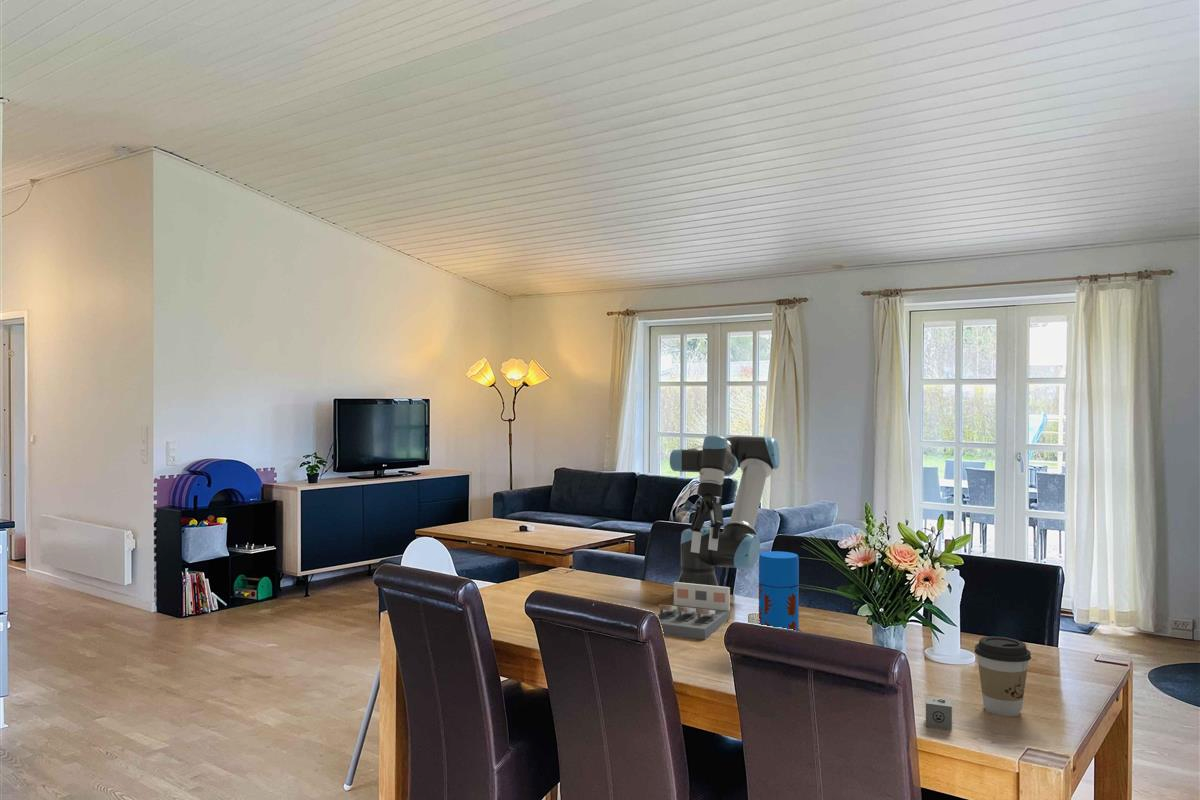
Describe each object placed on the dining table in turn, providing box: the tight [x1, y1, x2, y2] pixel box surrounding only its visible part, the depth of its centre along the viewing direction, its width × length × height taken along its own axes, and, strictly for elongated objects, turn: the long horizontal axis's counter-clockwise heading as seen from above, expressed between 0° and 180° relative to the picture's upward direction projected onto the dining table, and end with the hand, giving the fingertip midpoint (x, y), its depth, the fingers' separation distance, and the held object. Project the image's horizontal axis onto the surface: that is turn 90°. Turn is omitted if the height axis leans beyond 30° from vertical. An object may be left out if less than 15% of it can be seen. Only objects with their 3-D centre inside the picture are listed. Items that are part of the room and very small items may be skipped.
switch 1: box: [658, 604, 677, 610], centre depth 255 cm, size 8×3×1 cm, turn 154°
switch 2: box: [678, 607, 696, 612], centre depth 252 cm, size 8×3×1 cm, turn 154°
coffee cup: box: [973, 635, 1032, 718], centre depth 185 cm, size 11×11×15 cm
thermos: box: [758, 550, 800, 631], centre depth 234 cm, size 11×11×25 cm
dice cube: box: [925, 695, 953, 731], centre depth 177 cm, size 5×5×5 cm
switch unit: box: [657, 581, 731, 641], centre depth 254 cm, size 24×18×10 cm
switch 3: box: [697, 609, 715, 615], centre depth 250 cm, size 8×3×1 cm, turn 155°
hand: (703, 551), depth 262 cm, fingers open, 13 cm apart
